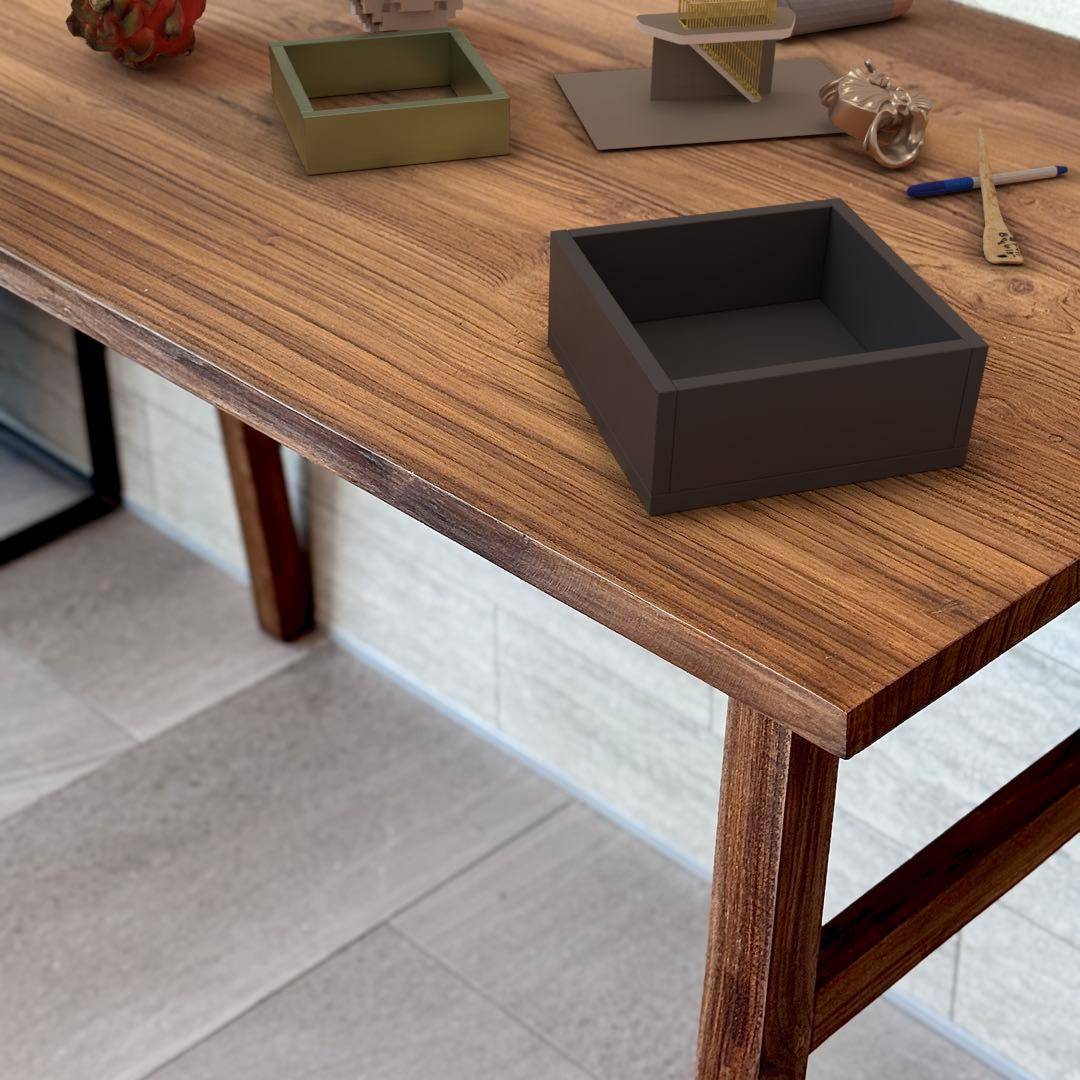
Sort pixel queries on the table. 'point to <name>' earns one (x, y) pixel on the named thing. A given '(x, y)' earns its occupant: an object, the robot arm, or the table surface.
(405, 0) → the caramel apple
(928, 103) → the ornament
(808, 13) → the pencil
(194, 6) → the dragon fruit
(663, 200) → the table surface
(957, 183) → the ballpoint pen
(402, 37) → the olive square frame
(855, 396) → the dark grey square tray
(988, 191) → the tool
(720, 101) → the platform
